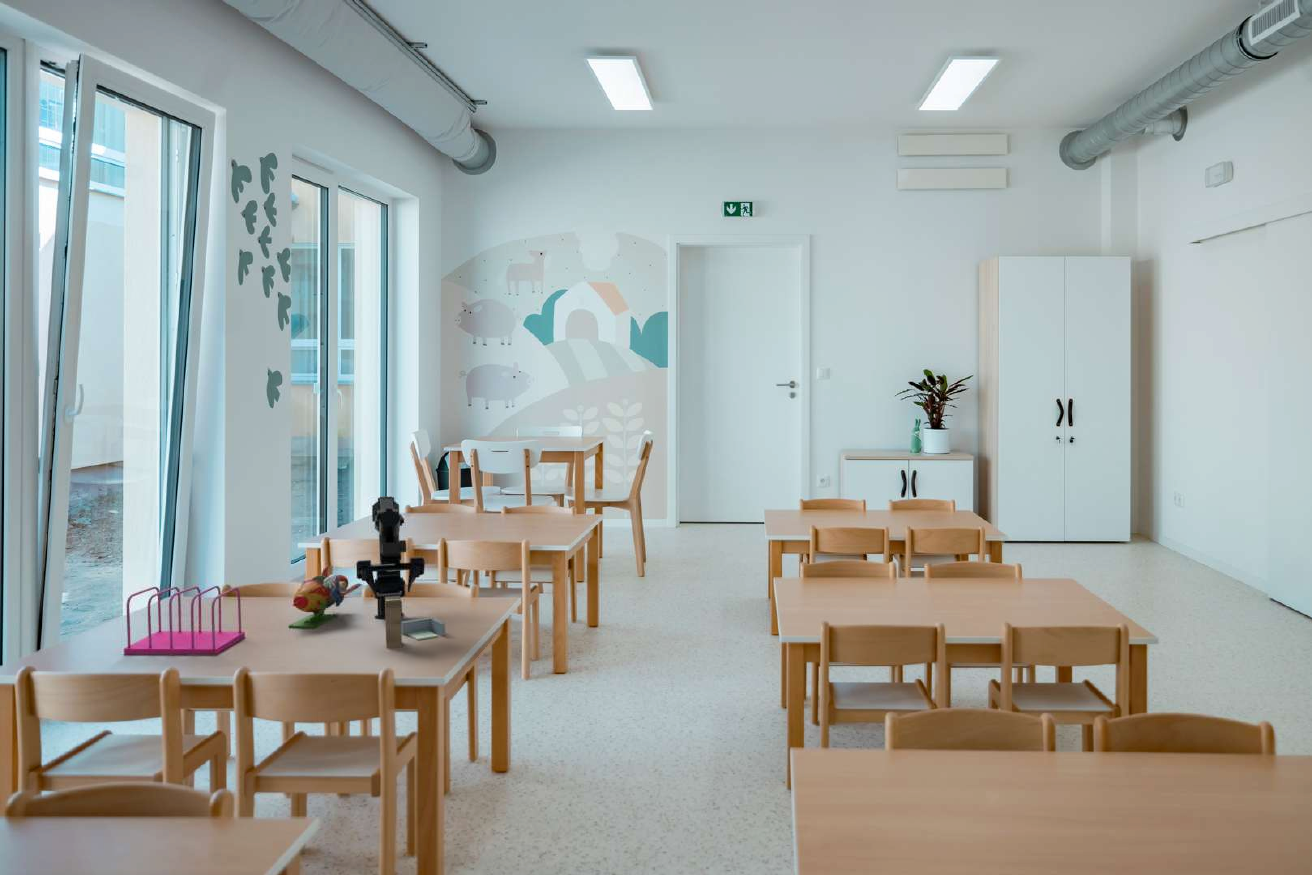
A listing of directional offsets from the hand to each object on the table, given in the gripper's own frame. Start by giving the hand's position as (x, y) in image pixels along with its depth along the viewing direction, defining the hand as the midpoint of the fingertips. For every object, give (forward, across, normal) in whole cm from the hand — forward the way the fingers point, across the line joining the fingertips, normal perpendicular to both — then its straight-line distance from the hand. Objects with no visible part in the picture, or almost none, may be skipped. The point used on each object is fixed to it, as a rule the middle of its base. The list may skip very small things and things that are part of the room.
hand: (391, 592), depth 272 cm
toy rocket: (-10, -21, +28) cm, 37 cm away
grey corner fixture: (+8, +8, +10) cm, 16 cm away
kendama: (-34, -18, +53) cm, 65 cm away
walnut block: (+14, 0, +4) cm, 15 cm away
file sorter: (+2, -54, +17) cm, 57 cm away
